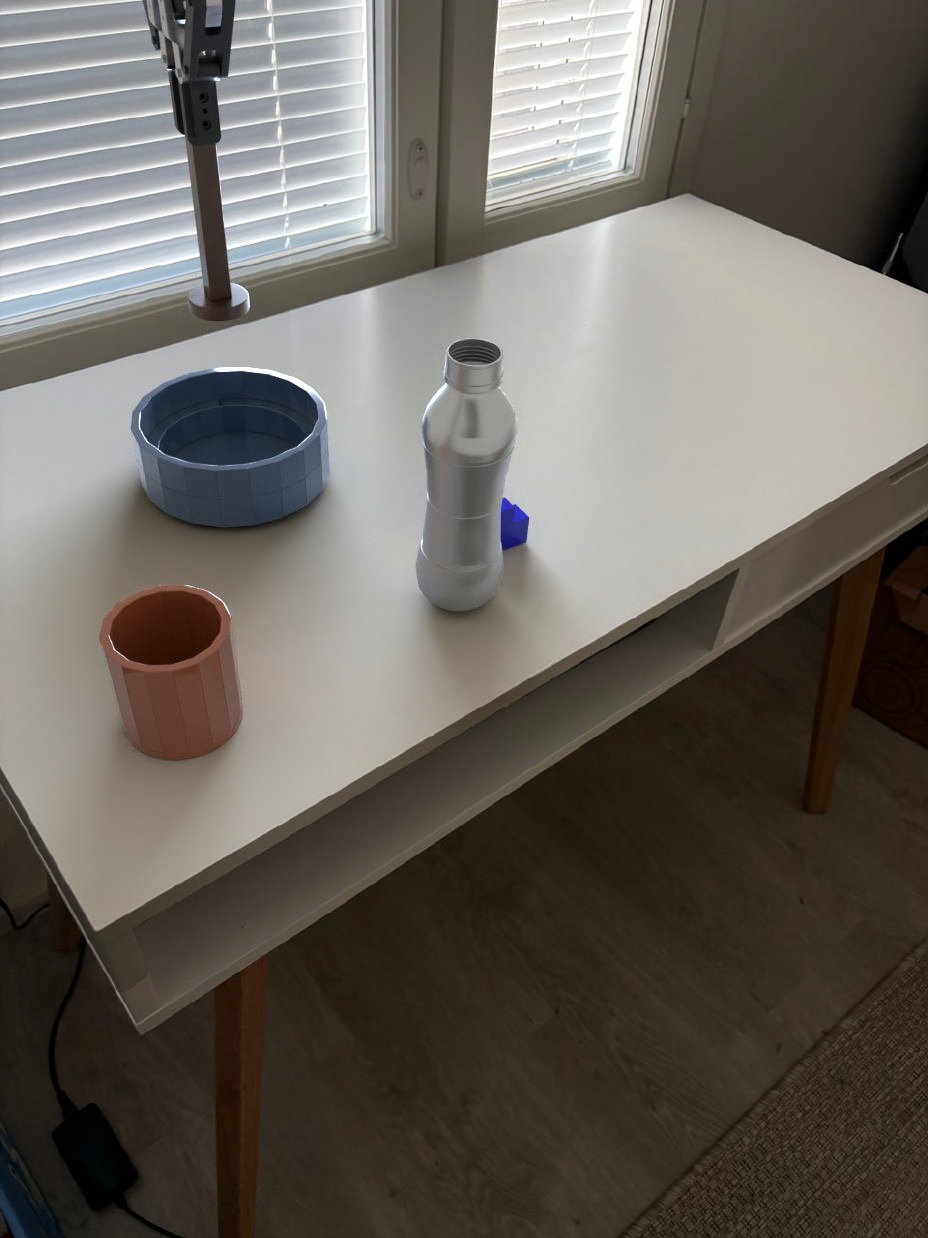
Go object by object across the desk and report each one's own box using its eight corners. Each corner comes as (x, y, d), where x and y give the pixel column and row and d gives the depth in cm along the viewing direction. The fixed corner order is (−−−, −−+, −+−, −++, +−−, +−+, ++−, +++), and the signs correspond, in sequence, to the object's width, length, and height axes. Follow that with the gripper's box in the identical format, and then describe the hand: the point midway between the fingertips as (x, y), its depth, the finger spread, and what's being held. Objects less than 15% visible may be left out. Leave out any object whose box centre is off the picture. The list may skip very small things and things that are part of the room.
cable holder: (526, 542, 81) (531, 502, 79) (489, 554, 80) (493, 514, 77) (474, 489, 86) (477, 450, 83) (439, 500, 85) (441, 460, 82)
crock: (141, 776, 62) (118, 688, 57) (110, 694, 67) (86, 605, 62) (259, 735, 65) (248, 647, 60) (221, 659, 70) (207, 571, 64)
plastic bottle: (400, 607, 75) (404, 363, 61) (436, 555, 79) (448, 318, 66) (480, 633, 73) (503, 389, 60) (513, 578, 78) (541, 340, 64)
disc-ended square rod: (199, 326, 73) (165, 65, 61) (181, 300, 75) (145, 45, 64) (258, 315, 74) (236, 59, 63) (238, 290, 77) (213, 41, 65)
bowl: (174, 553, 78) (163, 489, 74) (121, 450, 87) (109, 388, 83) (357, 503, 84) (356, 442, 80) (289, 412, 93) (285, 353, 89)
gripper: (60, -215, 58) (114, 111, 69) (123, -185, 49) (173, 181, 61) (189, -212, 60) (220, 101, 72) (270, -183, 52) (290, 166, 64)
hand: (198, 136), depth 67 cm, fingers closed on disc-ended square rod
